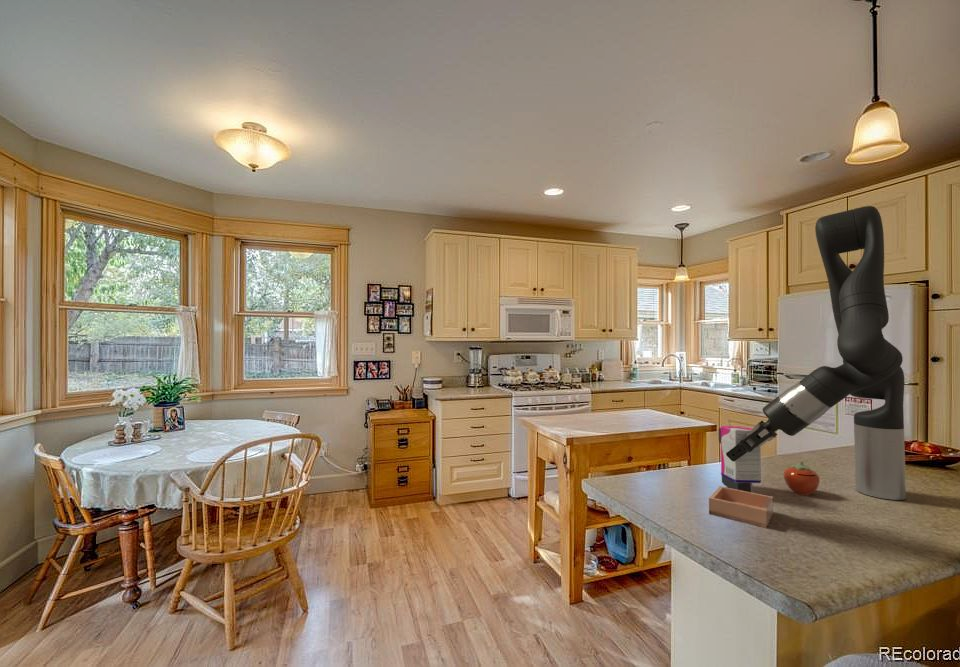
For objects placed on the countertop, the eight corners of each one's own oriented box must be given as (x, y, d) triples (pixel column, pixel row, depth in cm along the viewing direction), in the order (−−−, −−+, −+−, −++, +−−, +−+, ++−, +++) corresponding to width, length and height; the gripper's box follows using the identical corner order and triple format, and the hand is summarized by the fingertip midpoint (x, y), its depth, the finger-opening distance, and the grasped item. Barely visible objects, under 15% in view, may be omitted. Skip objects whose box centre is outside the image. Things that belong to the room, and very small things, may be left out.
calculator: (754, 497, 102) (753, 436, 102) (735, 496, 103) (734, 436, 103) (736, 483, 113) (735, 428, 113) (719, 482, 113) (718, 427, 114)
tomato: (791, 496, 103) (790, 463, 103) (778, 486, 110) (778, 456, 110) (826, 499, 101) (825, 466, 101) (811, 488, 108) (810, 458, 108)
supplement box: (762, 483, 90) (761, 430, 90) (735, 483, 90) (734, 430, 90) (745, 475, 95) (744, 425, 96) (720, 474, 95) (719, 425, 96)
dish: (720, 500, 100) (719, 486, 100) (773, 512, 93) (772, 496, 93) (709, 513, 92) (708, 498, 92) (766, 527, 85) (766, 510, 85)
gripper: (783, 392, 93) (726, 436, 101) (775, 397, 83) (712, 446, 90) (814, 418, 90) (752, 461, 97) (809, 427, 79) (741, 475, 86)
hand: (733, 454), depth 94 cm, fingers closed on supplement box, 8 cm apart
